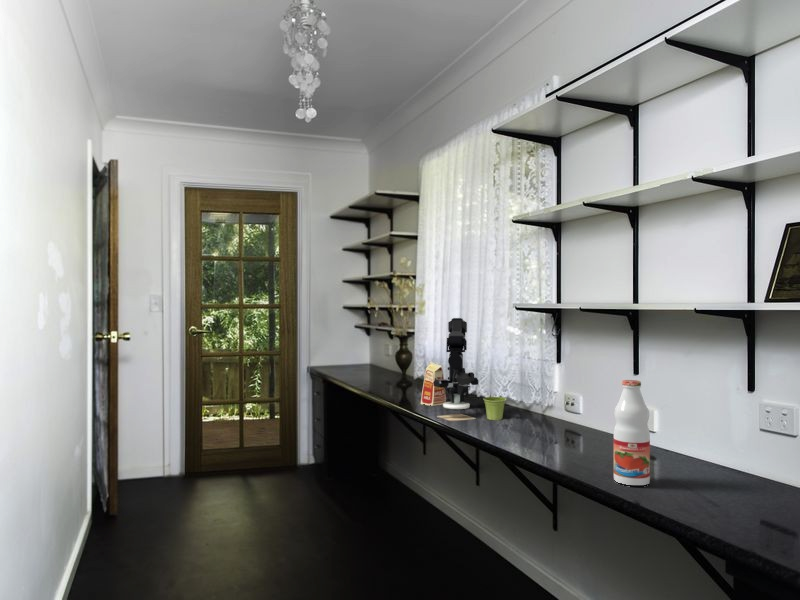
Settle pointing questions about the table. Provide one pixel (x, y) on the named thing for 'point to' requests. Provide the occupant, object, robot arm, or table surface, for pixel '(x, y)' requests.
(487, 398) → the plant pot
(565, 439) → the table surface
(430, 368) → the milk carton
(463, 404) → the lid
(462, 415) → the mat
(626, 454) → the fruit juice
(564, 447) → the table surface
